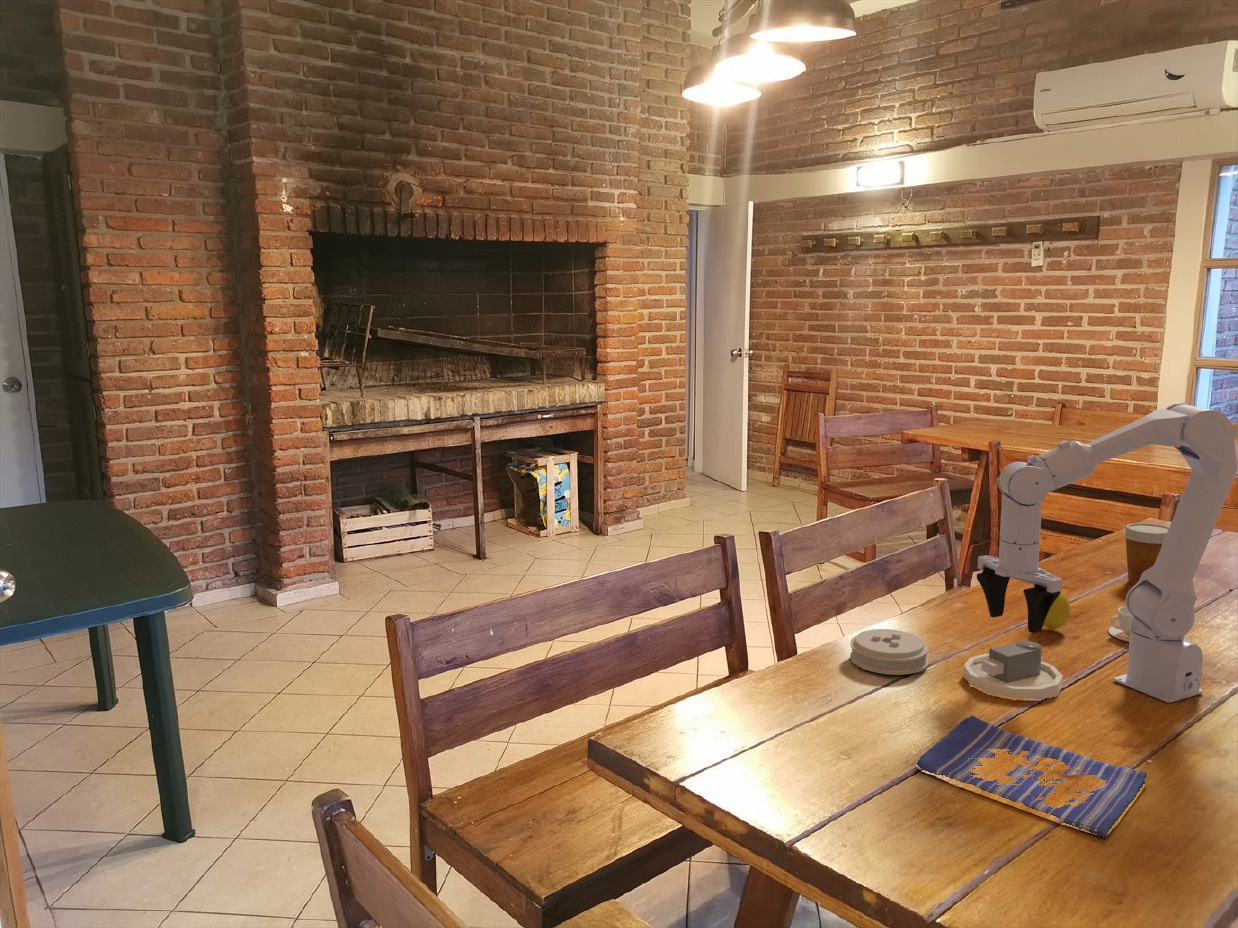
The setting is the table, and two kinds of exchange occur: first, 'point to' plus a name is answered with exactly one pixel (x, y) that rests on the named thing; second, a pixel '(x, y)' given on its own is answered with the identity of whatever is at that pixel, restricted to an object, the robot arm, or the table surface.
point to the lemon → (1058, 613)
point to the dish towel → (981, 735)
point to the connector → (1014, 661)
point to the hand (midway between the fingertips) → (1015, 623)
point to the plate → (1030, 687)
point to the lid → (889, 652)
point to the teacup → (1121, 624)
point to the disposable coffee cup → (1142, 547)
